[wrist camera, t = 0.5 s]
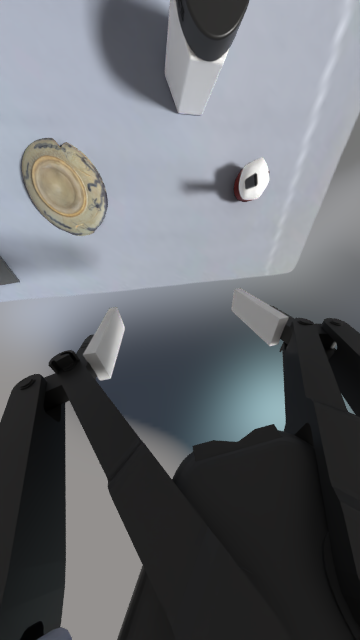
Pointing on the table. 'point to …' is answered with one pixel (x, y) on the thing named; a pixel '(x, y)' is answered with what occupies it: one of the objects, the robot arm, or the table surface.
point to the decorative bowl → (64, 186)
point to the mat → (6, 274)
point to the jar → (199, 48)
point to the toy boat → (251, 180)
